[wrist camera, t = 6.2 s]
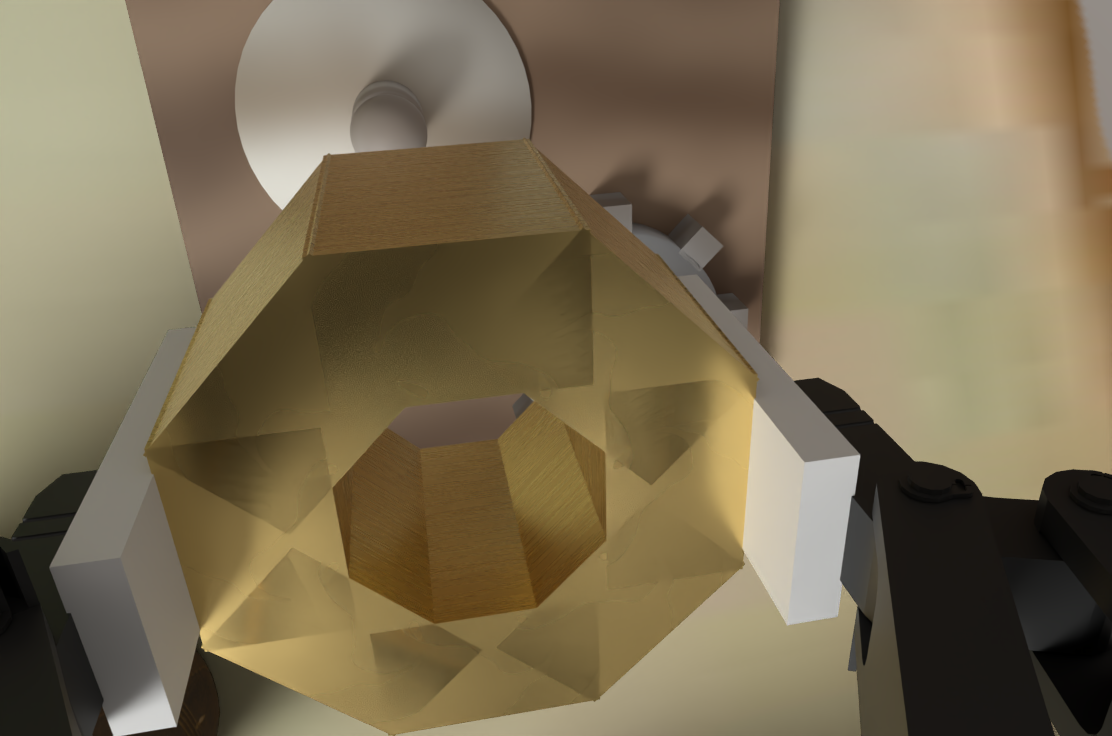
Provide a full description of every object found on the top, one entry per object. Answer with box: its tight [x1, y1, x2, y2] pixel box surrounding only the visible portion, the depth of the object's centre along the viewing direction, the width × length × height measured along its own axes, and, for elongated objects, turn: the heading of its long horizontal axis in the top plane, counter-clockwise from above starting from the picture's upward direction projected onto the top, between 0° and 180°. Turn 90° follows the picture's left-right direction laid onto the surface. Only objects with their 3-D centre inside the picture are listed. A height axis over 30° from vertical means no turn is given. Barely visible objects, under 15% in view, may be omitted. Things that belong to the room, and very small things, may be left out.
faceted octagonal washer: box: [143, 137, 760, 736], centre depth 15 cm, size 8×8×5 cm
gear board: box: [125, 0, 780, 449], centre depth 28 cm, size 26×20×6 cm
